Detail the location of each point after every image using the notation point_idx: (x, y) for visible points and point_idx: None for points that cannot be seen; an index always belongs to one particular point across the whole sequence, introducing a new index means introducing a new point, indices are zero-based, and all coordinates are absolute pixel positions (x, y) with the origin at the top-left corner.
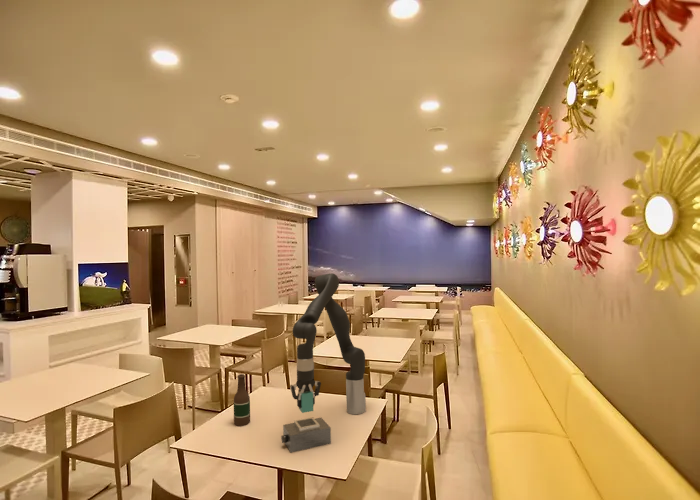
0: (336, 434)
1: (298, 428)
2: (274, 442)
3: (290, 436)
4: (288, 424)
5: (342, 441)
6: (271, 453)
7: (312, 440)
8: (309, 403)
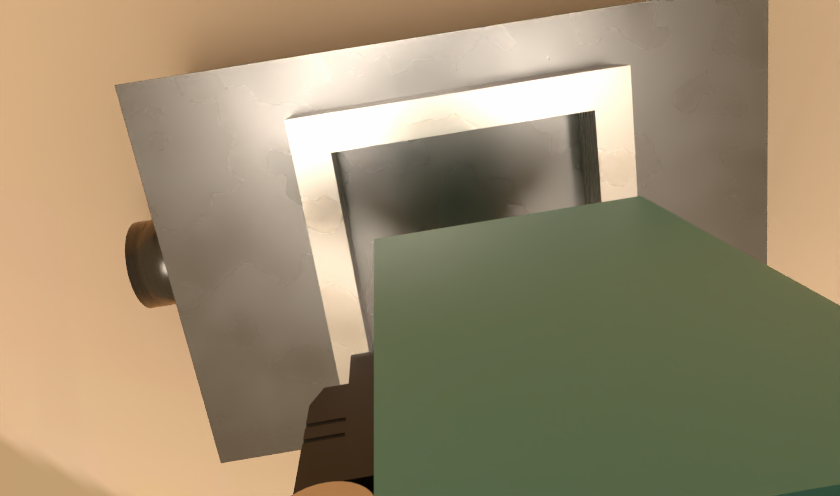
0: (802, 103)
1: (339, 369)
2: (77, 85)
3: (227, 457)
4: (203, 95)
5: (795, 279)
6: (65, 326)
7: None
8: None
